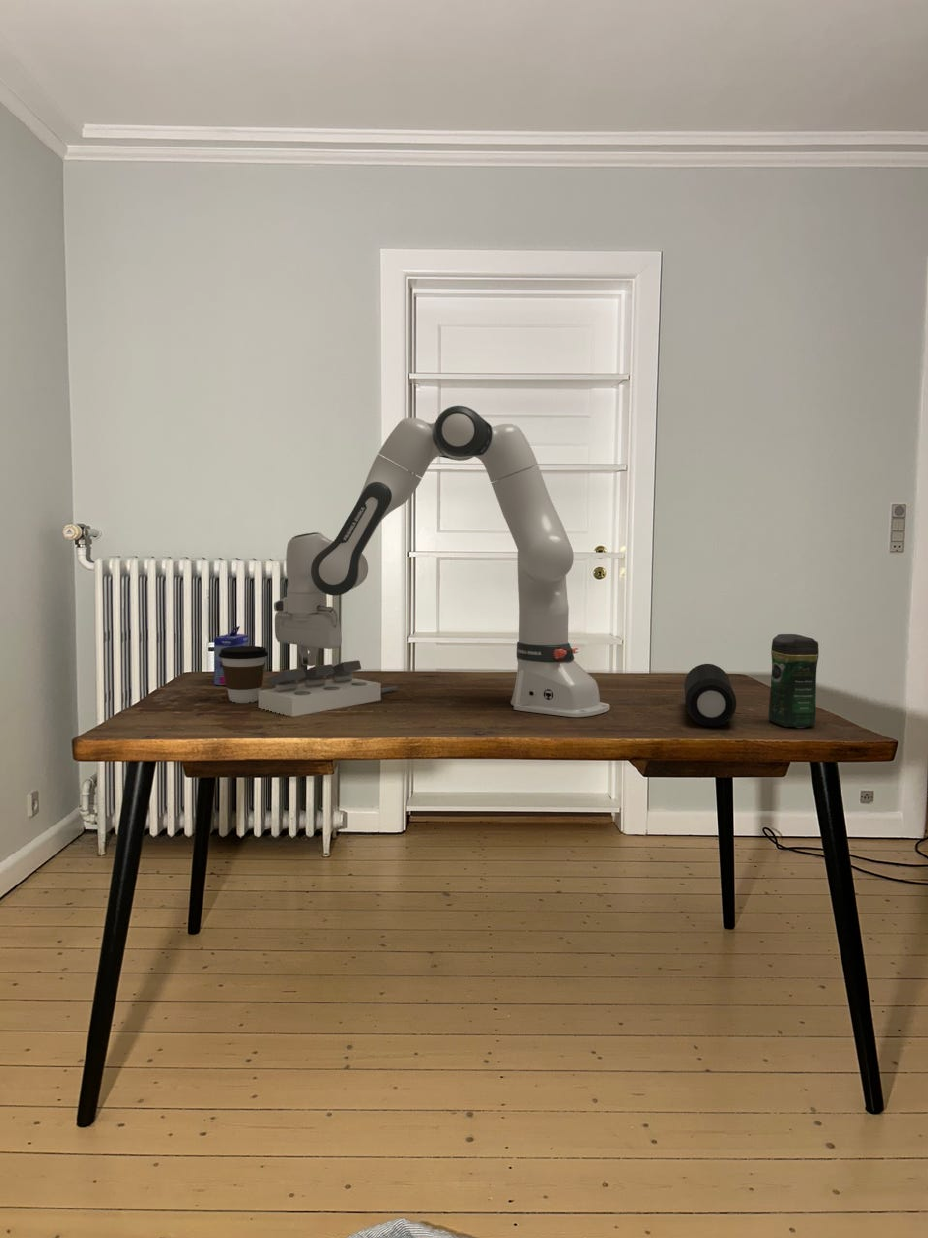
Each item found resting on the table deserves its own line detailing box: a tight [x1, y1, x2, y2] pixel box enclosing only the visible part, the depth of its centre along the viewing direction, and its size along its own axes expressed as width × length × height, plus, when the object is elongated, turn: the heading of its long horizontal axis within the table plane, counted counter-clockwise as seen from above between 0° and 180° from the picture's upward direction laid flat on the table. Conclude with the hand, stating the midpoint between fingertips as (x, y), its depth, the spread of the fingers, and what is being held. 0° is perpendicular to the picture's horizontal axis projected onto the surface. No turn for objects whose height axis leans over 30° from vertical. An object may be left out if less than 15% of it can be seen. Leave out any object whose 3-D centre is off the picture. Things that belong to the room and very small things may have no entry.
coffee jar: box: [767, 633, 819, 729], centre depth 180 cm, size 10×8×19 cm
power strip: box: [258, 673, 398, 718], centre depth 201 cm, size 12×36×6 cm, turn 138°
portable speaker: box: [684, 663, 737, 728], centre depth 188 cm, size 26×10×10 cm, turn 167°
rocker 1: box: [266, 667, 306, 688], centre depth 193 cm, size 7×5×2 cm
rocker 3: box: [325, 659, 362, 679], centre depth 204 cm, size 7×5×2 cm
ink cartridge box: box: [213, 625, 249, 686], centre depth 224 cm, size 10×6×14 cm, turn 171°
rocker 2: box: [297, 664, 334, 683], centre depth 198 cm, size 7×5×2 cm
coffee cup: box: [219, 645, 269, 704], centre depth 201 cm, size 11×11×12 cm
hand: (308, 665), depth 200 cm, fingers closed
